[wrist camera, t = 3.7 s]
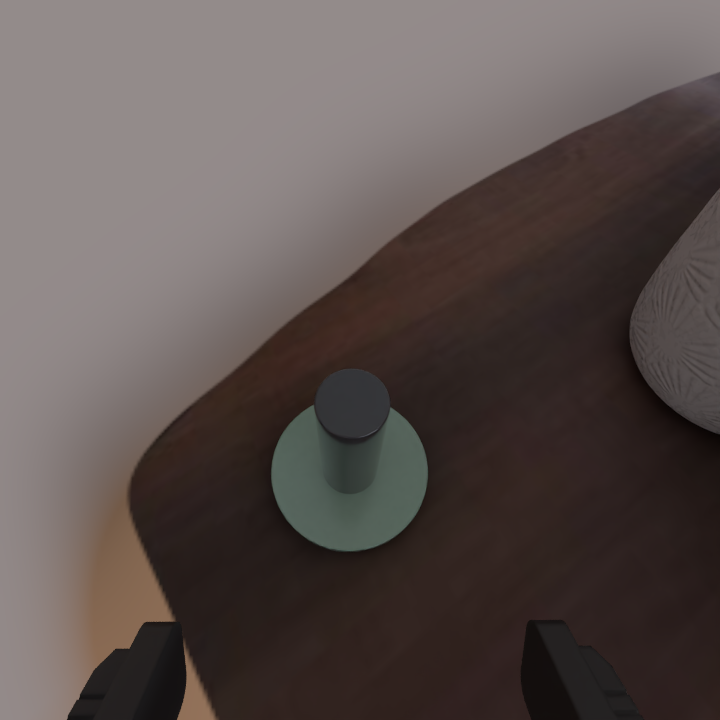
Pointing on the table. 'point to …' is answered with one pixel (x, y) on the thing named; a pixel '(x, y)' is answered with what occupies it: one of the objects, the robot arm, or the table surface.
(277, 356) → the table surface
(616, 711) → the robot arm
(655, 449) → the table surface
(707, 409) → the planter
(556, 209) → the table surface
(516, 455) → the table surface
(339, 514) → the green peg stand
